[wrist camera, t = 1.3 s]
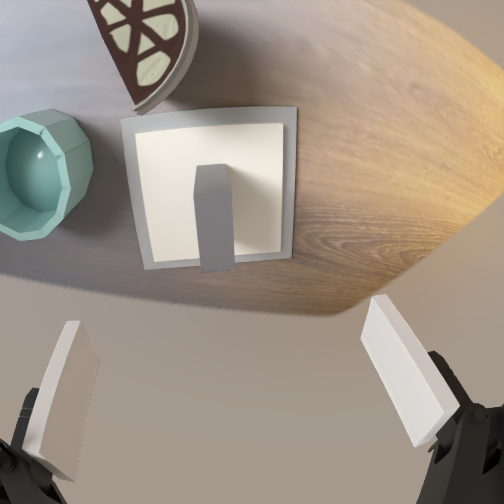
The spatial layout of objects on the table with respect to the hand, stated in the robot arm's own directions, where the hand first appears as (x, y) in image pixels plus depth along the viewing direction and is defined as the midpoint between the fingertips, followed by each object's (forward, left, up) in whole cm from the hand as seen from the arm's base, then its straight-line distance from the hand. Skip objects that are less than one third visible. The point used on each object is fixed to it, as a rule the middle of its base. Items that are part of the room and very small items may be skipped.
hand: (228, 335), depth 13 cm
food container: (-4, +15, -19) cm, 25 cm away
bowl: (-17, +5, -19) cm, 26 cm away
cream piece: (0, 0, -19) cm, 19 cm away
